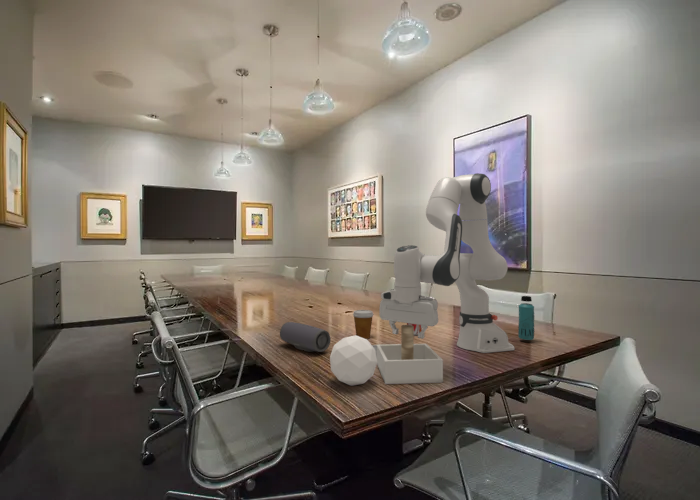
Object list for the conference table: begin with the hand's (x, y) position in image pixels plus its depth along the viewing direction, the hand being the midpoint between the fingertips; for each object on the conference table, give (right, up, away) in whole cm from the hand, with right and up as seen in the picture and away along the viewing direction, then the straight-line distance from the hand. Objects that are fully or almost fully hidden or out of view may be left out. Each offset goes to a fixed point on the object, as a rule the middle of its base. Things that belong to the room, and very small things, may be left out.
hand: (408, 335), depth 117 cm
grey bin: (0, -12, 0) cm, 12 cm away
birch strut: (0, -11, 0) cm, 11 cm away
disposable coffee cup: (-13, -12, +45) cm, 48 cm away
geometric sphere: (-18, -13, -8) cm, 24 cm away
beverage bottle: (+58, -12, +38) cm, 71 cm away
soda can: (+11, -12, +51) cm, 53 cm away
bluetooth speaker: (-38, -12, +27) cm, 48 cm away
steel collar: (-9, -12, +17) cm, 23 cm away
